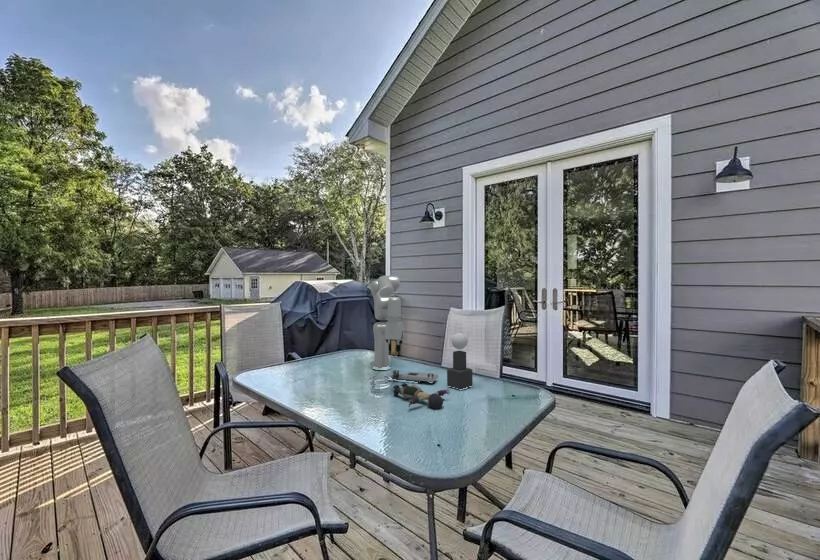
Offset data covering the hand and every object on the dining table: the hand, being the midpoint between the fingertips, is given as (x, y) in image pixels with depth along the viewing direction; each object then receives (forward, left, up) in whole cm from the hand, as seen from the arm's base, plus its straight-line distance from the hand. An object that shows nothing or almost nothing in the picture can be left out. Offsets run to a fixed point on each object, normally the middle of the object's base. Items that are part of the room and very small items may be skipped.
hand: (394, 351), depth 210 cm
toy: (+23, -23, -20) cm, 38 cm away
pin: (0, 0, -2) cm, 2 cm away
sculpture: (+36, +8, -19) cm, 42 cm away
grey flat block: (+7, +11, -19) cm, 23 cm away
